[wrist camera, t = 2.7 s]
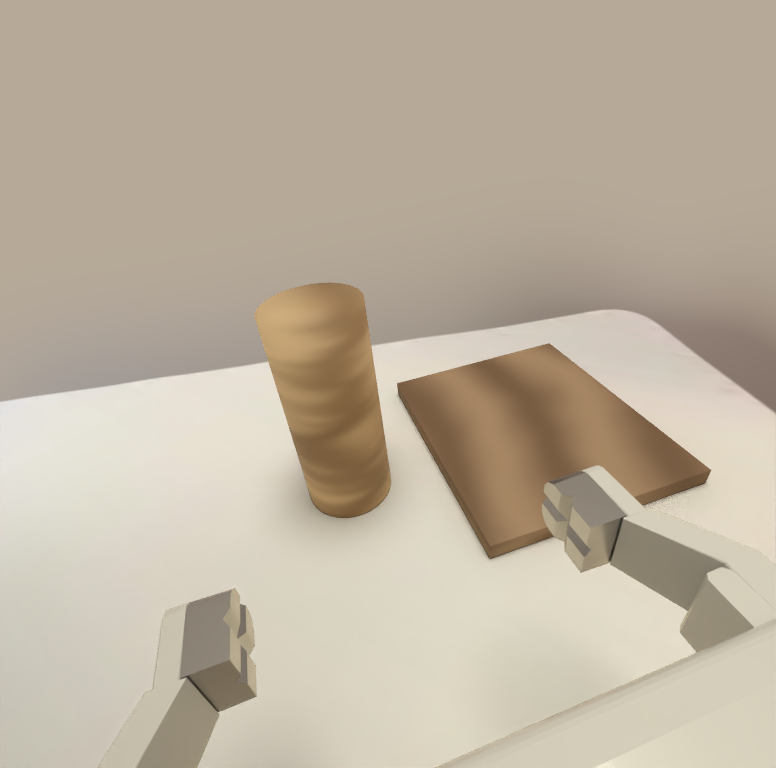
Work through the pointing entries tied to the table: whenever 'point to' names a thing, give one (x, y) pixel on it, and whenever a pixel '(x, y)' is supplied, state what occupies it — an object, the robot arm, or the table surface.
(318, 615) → the table surface
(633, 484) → the board
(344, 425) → the oak roller
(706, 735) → the robot arm
